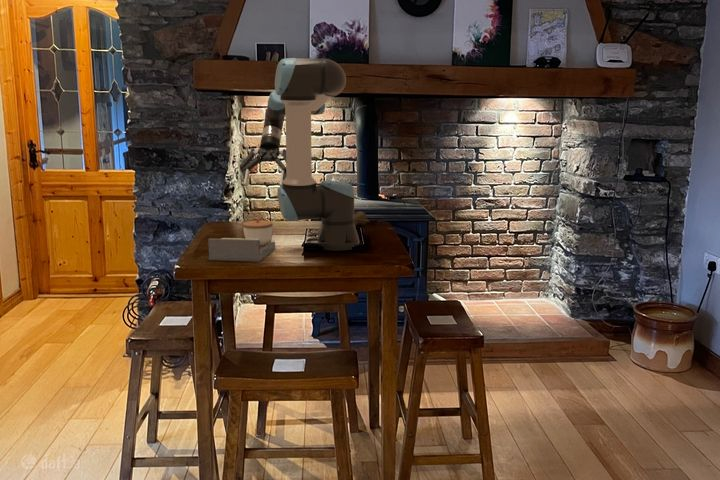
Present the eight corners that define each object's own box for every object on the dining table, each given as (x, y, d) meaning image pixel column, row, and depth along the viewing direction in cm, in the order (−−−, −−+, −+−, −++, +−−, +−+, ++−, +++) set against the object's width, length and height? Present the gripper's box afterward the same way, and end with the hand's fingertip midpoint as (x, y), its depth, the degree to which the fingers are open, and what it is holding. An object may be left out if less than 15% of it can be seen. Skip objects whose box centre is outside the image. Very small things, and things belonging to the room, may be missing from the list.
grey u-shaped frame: (275, 248, 228) (274, 229, 226) (259, 261, 210) (258, 240, 208) (229, 247, 230) (228, 228, 229) (209, 260, 213) (208, 239, 211)
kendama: (333, 223, 276) (374, 225, 267) (321, 228, 268) (364, 230, 259) (332, 209, 275) (374, 211, 266) (320, 213, 267) (363, 216, 258)
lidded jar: (267, 247, 230) (266, 221, 228) (239, 246, 232) (238, 220, 230) (277, 241, 240) (276, 216, 238) (250, 240, 243) (248, 215, 241)
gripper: (303, 147, 255) (297, 192, 245) (241, 145, 257) (232, 190, 247) (301, 135, 248) (294, 181, 238) (237, 133, 250) (228, 179, 240)
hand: (263, 186), depth 243 cm, fingers open, 13 cm apart
